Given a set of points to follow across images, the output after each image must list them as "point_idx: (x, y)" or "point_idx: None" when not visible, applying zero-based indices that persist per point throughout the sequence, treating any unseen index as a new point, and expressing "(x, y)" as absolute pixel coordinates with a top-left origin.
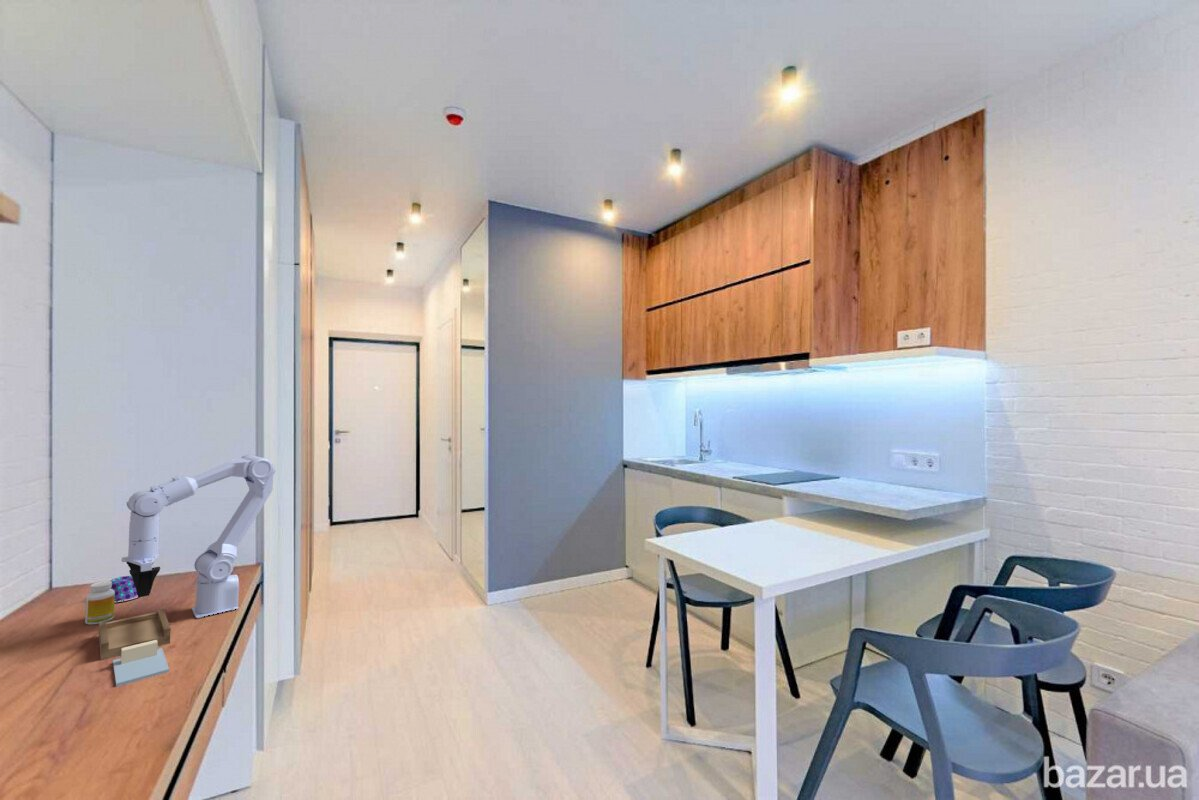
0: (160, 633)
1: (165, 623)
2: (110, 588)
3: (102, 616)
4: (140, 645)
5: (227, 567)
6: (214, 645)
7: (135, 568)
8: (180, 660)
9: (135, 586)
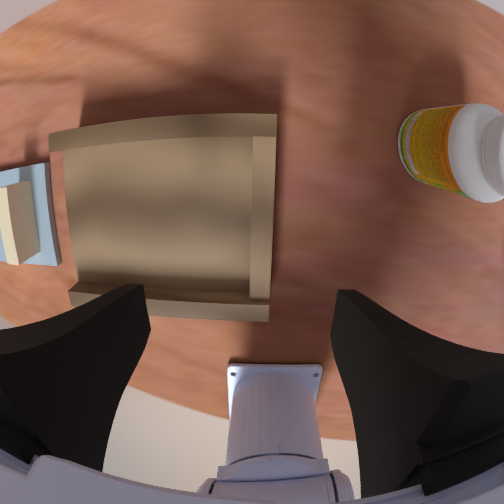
0: (103, 278)
1: None
2: None
3: (407, 146)
4: (4, 228)
5: None
6: None
7: (392, 388)
8: (13, 282)
9: (340, 295)
